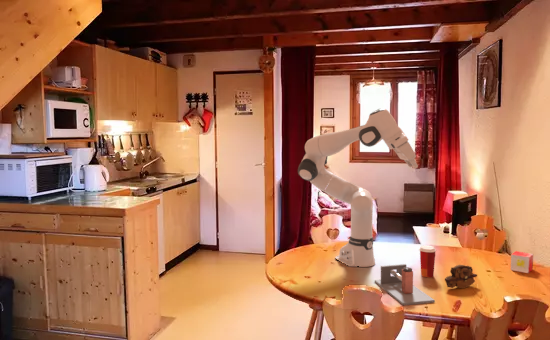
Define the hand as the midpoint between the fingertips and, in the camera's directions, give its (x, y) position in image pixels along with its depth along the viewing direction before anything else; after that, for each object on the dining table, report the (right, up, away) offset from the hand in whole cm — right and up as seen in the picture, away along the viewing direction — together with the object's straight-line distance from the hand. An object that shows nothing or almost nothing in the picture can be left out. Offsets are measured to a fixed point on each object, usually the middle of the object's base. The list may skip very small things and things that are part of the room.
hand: (413, 166), depth 196 cm
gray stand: (-5, -55, -1) cm, 55 cm away
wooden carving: (+22, -54, +3) cm, 59 cm away
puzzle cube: (+62, -51, +26) cm, 85 cm away
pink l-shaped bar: (-6, -53, +3) cm, 53 cm away
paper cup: (+12, -53, +19) cm, 57 cm away
